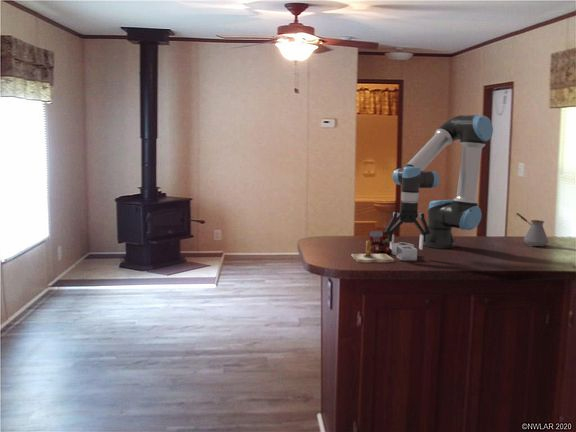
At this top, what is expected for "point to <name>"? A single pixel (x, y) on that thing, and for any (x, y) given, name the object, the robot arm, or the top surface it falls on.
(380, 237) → the toy fire truck
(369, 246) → the keeper
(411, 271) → the top surface
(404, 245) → the white block with hole
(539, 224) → the coffee pot
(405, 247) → the white square box
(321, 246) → the top surface
